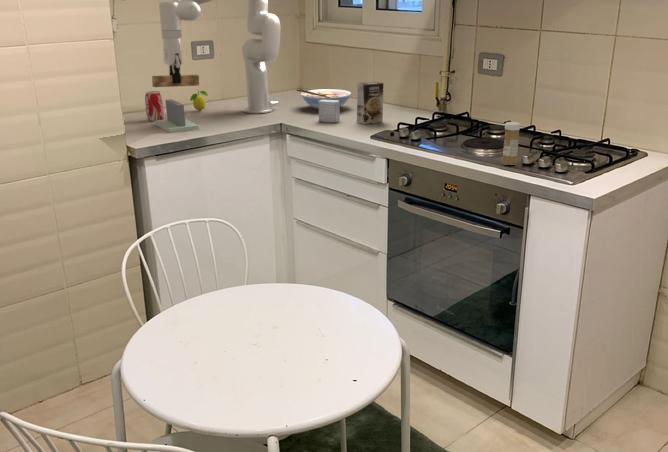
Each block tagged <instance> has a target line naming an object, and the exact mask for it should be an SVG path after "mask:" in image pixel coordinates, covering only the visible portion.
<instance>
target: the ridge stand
mask: <svg viewBox="0 0 668 452" xmlns="http://www.w3.org/2000/svg"><path fill="white" fill-rule="evenodd" d="M165 108H166V116H167V117H166V118H167V119H162V120H158V121H154V125H155V126H157V127H159V128H160V129H162V130H164V131H165V132H168V133H169V134H172V133H181V132H188V131H196V130H197V131H198V130H200V125H199V124H196V123H195V122H192V121H190V120H188V119H187V118H186V117H185V105H184V104H183V103H181V102H178V101H176V100H174V99H165Z"/></svg>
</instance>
